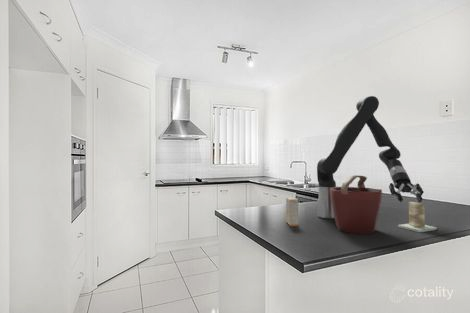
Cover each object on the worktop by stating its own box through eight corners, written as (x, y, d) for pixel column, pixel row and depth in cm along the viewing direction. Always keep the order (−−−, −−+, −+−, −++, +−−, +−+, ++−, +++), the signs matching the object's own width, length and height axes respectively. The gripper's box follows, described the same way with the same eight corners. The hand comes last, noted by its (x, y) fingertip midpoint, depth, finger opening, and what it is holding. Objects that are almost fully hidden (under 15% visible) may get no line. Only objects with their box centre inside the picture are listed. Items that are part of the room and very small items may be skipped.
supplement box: (298, 226, 127) (298, 199, 127) (289, 226, 127) (288, 199, 127) (295, 222, 135) (295, 197, 135) (286, 222, 135) (285, 197, 135)
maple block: (414, 227, 120) (413, 203, 120) (409, 224, 124) (408, 201, 125) (424, 227, 119) (424, 203, 119) (419, 225, 124) (418, 202, 124)
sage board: (419, 232, 115) (419, 230, 115) (398, 227, 124) (398, 225, 124) (436, 229, 119) (436, 227, 119) (414, 224, 129) (414, 222, 129)
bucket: (353, 221, 136) (352, 173, 137) (396, 231, 117) (395, 176, 117) (320, 227, 124) (319, 175, 125) (362, 239, 105) (361, 178, 105)
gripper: (387, 171, 136) (398, 196, 125) (416, 171, 134) (430, 196, 123) (383, 180, 141) (392, 205, 130) (411, 181, 139) (423, 206, 128)
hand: (411, 201), depth 126 cm, fingers open, 8 cm apart
